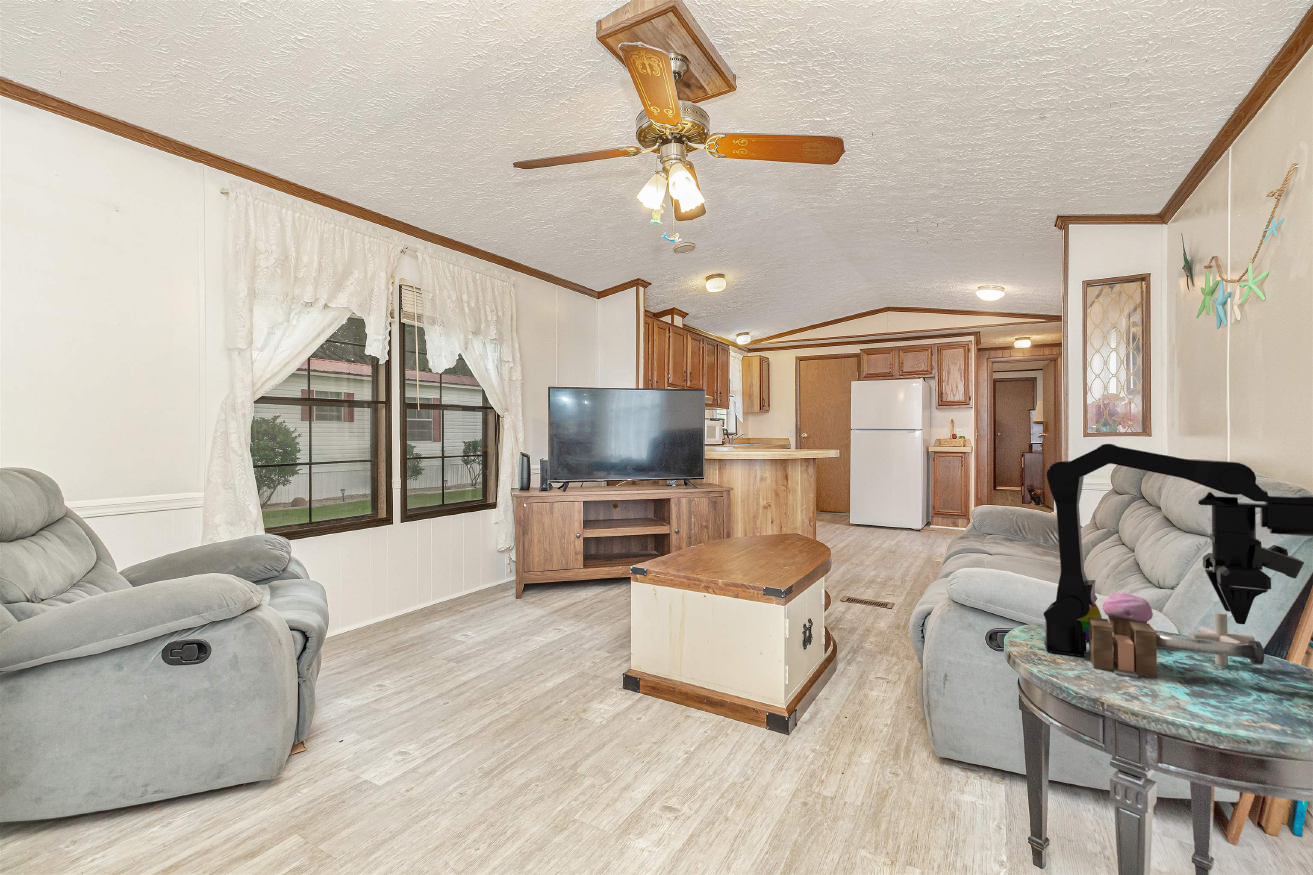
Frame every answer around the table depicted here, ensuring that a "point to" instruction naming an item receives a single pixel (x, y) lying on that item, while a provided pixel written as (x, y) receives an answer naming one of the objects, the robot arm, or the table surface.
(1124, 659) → the spacer
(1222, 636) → the pipe connector
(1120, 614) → the cupcake
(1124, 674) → the mat
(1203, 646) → the shaft
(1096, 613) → the decorative egg
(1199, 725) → the table surface
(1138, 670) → the pillow blocks
